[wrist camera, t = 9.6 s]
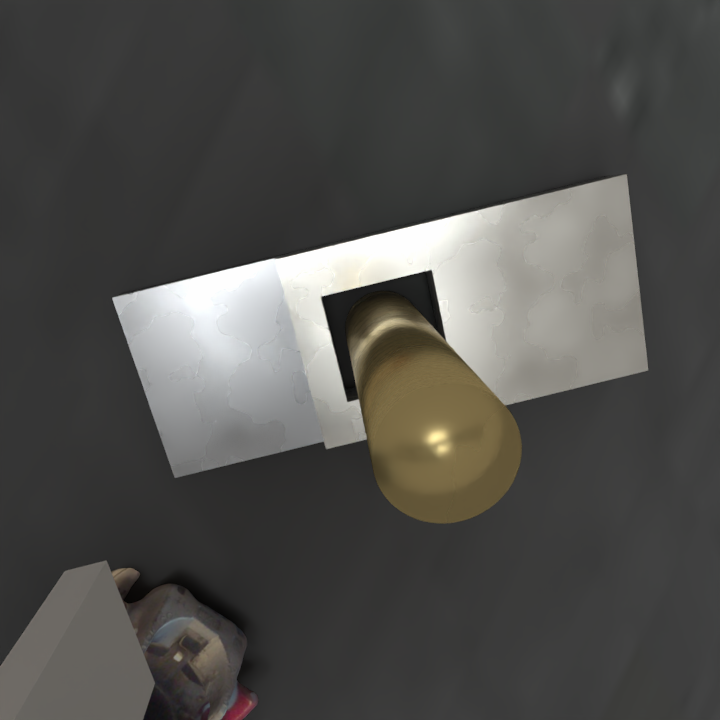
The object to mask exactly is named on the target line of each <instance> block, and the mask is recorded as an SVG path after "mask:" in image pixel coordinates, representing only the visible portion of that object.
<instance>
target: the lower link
mask: <svg viewBox="0 0 720 720" xmlns="http://www.w3.org/2000/svg"><path fill="white" fill-rule="evenodd" d="M446 216H450V215H444V216H440V217H436V218H432V219H428V220H423V221H419V222H415V223H411V224H407V225H403V226H399V227H395V228H391V229H386V230H382V231H378V232H374V233H370V234H366V235H362V236H358V237H354V238H350V239H345V240H341V241H337V242H333V243H329V244H325V245H321V246H317V247H313V248H308V249H304V250H300V251H296V252H292V253H288V254H284V255H280V256H276V257H271V258H267V259H263V260H259V261H255V262H251V263H247V264H243V265H239V266H234V267H230V268H226V269H222V270H218V271H214V272H210V273H206V274H202V275H198V276H193V277H189V278H185V279H181V280H177V281H173V282H169V283H165V284H161V285H156V286H152V287H148V288H144V289H140V290H136V291H132V292H128V293H124V294H119V295H117V296H115V297H113V298H112V299H113V302H114V305H115V308H116V311H117V313H118V316H119V319H120V322H121V325H122V328H123V331H124V334H125V336H126V339H127V342H128V345H129V348H130V351H131V354H132V357H133V359H134V362H135V365H136V368H137V371H138V374H139V377H140V380H141V382H142V385H143V388H144V391H145V394H146V397H147V400H148V402H149V405H150V408H151V411H152V414H153V417H154V420H155V423H156V425H157V428H158V431H159V434H160V437H161V440H162V443H163V446H164V448H165V451H166V454H167V457H168V460H169V463H170V466H171V469H172V471H173V474H174V477H175V478H177V477H181V476H185V475H189V474H193V473H197V472H201V471H205V470H209V469H214V468H218V467H222V466H226V465H230V464H234V463H238V462H242V461H246V460H250V459H254V458H259V457H263V456H267V455H271V454H275V453H279V452H283V451H287V450H291V449H295V448H299V447H303V446H308V445H312V444H316V443H320V442H324V439H323V436H322V432H321V428H320V425H319V421H318V417H317V413H316V410H315V406H314V402H313V399H312V395H311V391H310V388H309V384H308V380H307V376H306V373H305V369H304V365H303V362H302V358H301V354H300V351H299V347H298V343H297V339H296V336H295V332H294V328H293V325H292V321H291V317H290V313H289V310H288V306H287V302H286V299H285V295H284V291H283V288H282V284H281V280H280V276H279V273H278V269H277V265H276V262H275V259H276V258H278V257H282V256H286V255H290V254H294V253H298V252H302V251H307V250H311V249H315V248H319V247H323V246H327V245H331V244H335V243H339V242H344V241H348V240H352V239H356V238H360V237H364V236H368V235H372V234H376V233H380V232H385V231H389V230H393V229H397V228H401V227H405V226H409V225H413V224H417V223H422V222H426V221H430V220H434V219H438V218H442V217H446ZM425 272H426V276H427V281H428V286H429V291H430V296H431V301H432V306H433V311H434V316H435V320H436V325H437V330H438V333H439V334H440V335H441V336H442V334H441V329H440V324H439V319H438V315H437V310H436V305H435V300H434V295H433V290H432V285H431V280H430V275H429V270H428V271H425ZM321 297H322V296H321ZM322 301H323V298H322ZM323 305H324V302H323ZM324 309H325V306H324ZM325 313H326V310H325ZM326 317H327V314H326ZM327 321H328V318H327ZM328 325H329V322H328ZM329 329H330V326H329ZM330 333H331V330H330ZM331 337H332V334H331ZM332 341H333V338H332ZM333 344H334V342H333ZM334 348H335V346H334ZM335 352H336V349H335ZM336 356H337V353H336ZM337 360H338V357H337ZM338 364H339V361H338ZM339 368H340V365H339ZM340 372H341V369H340ZM341 376H342V373H341ZM342 380H343V377H342ZM343 384H344V381H343ZM344 388H345V385H344ZM345 392H346V395H350V394H354V393H357V388H356V387H352V388H348V389H345Z"/></svg>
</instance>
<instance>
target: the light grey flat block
mask: <svg viewBox="0 0 720 720" xmlns="http://www.w3.org/2000/svg"><path fill="white" fill-rule="evenodd" d="M275 262H276V265H277V269H278V273H279V276H280V280H281V284H282V288H283V291H284V295H285V299H286V302H287V306H288V310H289V313H290V317H291V321H292V325H293V328H294V332H295V336H296V339H297V343H298V347H299V351H300V354H301V358H302V362H303V365H304V369H305V373H306V376H307V380H308V384H309V388H310V391H311V395H312V399H313V402H314V406H315V410H316V413H317V417H318V421H319V425H320V428H321V432H322V436H323V439H324V443H325V447H326V449H329V448H333V447H337V446H341V445H345V444H349V443H354V442H358V441H362V440H366V439H367V437H366V432H365V427H364V422H363V417H362V412H361V408H360V403H359V398H358V393H354V394H350V395H346V392H345V388H344V384H343V380H342V376H341V372H340V368H339V364H338V360H337V356H336V352H335V348H334V344H333V341H332V337H331V333H330V329H329V325H328V321H327V317H326V313H325V309H324V305H323V301H322V297H321V296H326V295H330V294H334V293H338V292H342V291H346V290H350V289H354V288H358V287H362V286H367V285H371V284H375V283H379V282H383V281H387V280H391V279H395V278H399V277H404V276H408V275H412V274H416V273H420V272H424V271H428V270H429V275H430V280H431V285H432V290H433V295H434V300H435V305H436V310H437V315H438V319H439V324H440V329H441V334H442V337H443V338H444V340H445V341H446V342H447V343H448V344H449V345H450V346H451V347H452V348H453V349H454V350H455V352H456V353H457V354H458V355H459V356H460V357H461V358H462V359H463V360H464V361H465V362H466V364H467V365H468V366H469V367H470V368H471V369H472V370H473V371H474V372H475V373H476V374H477V375H478V377H479V378H480V379H481V380H482V381H483V382H484V383H485V384H486V385H487V386H488V387H489V389H490V390H491V391H492V392H493V393H494V394H495V395H496V396H497V397H498V398H499V399H500V401H501V402H502V403H503V404H504V405H509V404H513V403H517V402H521V401H525V400H529V399H533V398H537V397H542V396H546V395H550V394H554V393H558V392H562V391H566V390H570V389H574V388H578V387H582V386H586V385H591V384H595V383H599V382H603V381H607V380H611V379H615V378H619V377H623V376H627V375H631V374H636V373H640V372H644V371H648V363H647V354H646V345H645V336H644V327H643V318H642V309H641V300H640V290H639V281H638V272H637V263H636V254H635V245H634V236H633V227H632V218H631V209H630V200H629V190H628V181H627V174H624V175H613V176H604V177H600V178H596V179H592V180H588V181H584V182H580V183H575V184H571V185H567V186H563V187H559V188H555V189H551V190H547V191H543V192H538V193H534V194H530V195H526V196H522V197H518V198H514V199H510V200H506V201H502V202H497V203H493V204H489V205H485V206H481V207H477V208H473V209H469V210H465V211H460V212H456V213H452V214H451V215H450V216H446V217H442V218H438V219H434V220H430V221H426V222H422V223H417V224H413V225H409V226H405V227H401V228H397V229H393V230H389V231H385V232H380V233H376V234H372V235H368V236H364V237H360V238H356V239H352V240H348V241H344V242H339V243H335V244H331V245H327V246H323V247H319V248H315V249H311V250H307V251H302V252H298V253H294V254H290V255H286V256H282V257H278V258H276V259H275Z"/></svg>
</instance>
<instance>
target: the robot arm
mask: <svg viewBox="0 0 720 720" xmlns="http://www.w3.org/2000/svg"><path fill="white" fill-rule="evenodd" d="M154 685H155V682H154V679H153V677H152V674H151V672H150V669H149V666H148V664H147V661H146V659H145V656H144V654H143V651H142V649H141V646H140V644H139V641H138V639H137V636H136V634H135V631H134V629H133V626H132V623H131V621H130V618H129V616H128V613H127V611H126V608H125V606H124V603H123V601H122V598H121V596H120V593H119V591H118V588H117V586H116V583H115V580H114V578H113V575H112V573H111V570H110V568H109V565H108V563H107V560H106V561H102V562H98V563H94V564H90V565H86V566H82V567H78V568H75V569H71V570H67V571H64V573H63V574H62V576H61V577H60V579H59V580H58V582H57V583H56V585H55V586H54V588H53V589H52V591H51V592H50V594H49V595H48V597H47V598H46V600H45V601H44V602H43V604H42V605H41V607H40V608H39V610H38V611H37V613H36V614H35V616H34V617H33V619H32V620H31V622H30V623H29V625H28V626H27V628H26V629H25V631H24V632H23V634H22V635H21V636H20V638H19V639H18V641H17V642H16V644H15V645H14V647H13V648H12V650H11V651H10V653H9V654H8V656H7V657H6V659H5V660H4V662H3V663H2V665H1V666H0V720H143V718H144V715H145V712H146V709H147V706H148V703H149V700H150V697H151V694H152V691H153V688H154Z"/></svg>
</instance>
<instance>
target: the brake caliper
mask: <svg viewBox="0 0 720 720" xmlns="http://www.w3.org/2000/svg"><path fill="white" fill-rule="evenodd" d="M111 573H112V575H113V578H114V580H115V583H116V586H117V588H118V591H119V593H120V596H121V598H122V601H123V600H124V599H125V598H126V596H127V594H128V592H129V590H130V589H131V587H132V586H133V585H134V583H135V582H136V581H137V579H138V578H139V576H140V573H139V572H138V571H136V570H135V569H133V568H122V569H116V570H114V571H112V572H111ZM123 603H124V606H125V608H126V611H127V613H128V616H129V618H130V621H131V623H132V626H133V629H134V631H135V634H136V636H137V639H138V641H139V644H140V646H141V649H142V651H143V654H144V656H145V659H146V661H147V664H148V666H149V669H150V672H151V674H152V677H153V679H154V682H155V685H154V688H153V691H152V694H151V697H150V700H149V703H148V706H147V709H146V712H145V715H144V718H143V720H242V719H243V718H245V717H246V716H247V715H248V714H249V713H250V712H251V710H252V709H253V708H254V707H255V706H256V705H257V703H258V696H257V694H256V693H254V692H253V691H251V690H249V689H248V688H246V687H244V686H243V685H242V684H240V683H239V682H238V681H237V676H238V673H239V670H240V668H241V664H242V661H243V656H244V652H245V650H246V647H247V639H246V636H245V634H244V633H243V632H242V631H241V630H240V629H239V628H238V627H237V626H236V625H235V624H234V623H233V622H231V621H230V620H228V619H226V618H225V617H223V616H222V615H220V614H219V613H217V612H216V611H214V610H212V609H211V608H209V607H208V606H206V605H204V604H202V603H200V602H199V601H197V600H196V599H195V597H194V596H193V595H192V594H191V593H190V591H189V590H187V589H186V588H184V587H182V586H180V585H177V584H164V585H161V586H158V587H156V588H154V589H153V590H152V591H150V592H149V593H148V594H147V595H146V596H145V597H144V598H143V599H142V600H140V601H137V602H134V603H130V604H128V603H126V602H125V601H123Z"/></svg>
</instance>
